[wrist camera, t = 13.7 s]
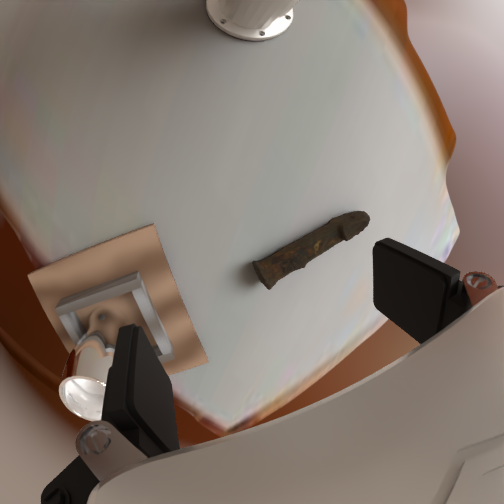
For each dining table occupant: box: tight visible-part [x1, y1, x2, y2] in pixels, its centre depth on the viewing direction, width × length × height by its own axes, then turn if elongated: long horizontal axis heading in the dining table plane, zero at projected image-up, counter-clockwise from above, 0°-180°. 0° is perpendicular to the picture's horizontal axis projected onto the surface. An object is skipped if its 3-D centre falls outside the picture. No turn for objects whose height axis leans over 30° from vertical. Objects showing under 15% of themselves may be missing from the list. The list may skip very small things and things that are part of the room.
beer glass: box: [59, 306, 129, 421], centre depth 28 cm, size 7×7×15 cm
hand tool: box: [253, 211, 370, 290], centre depth 39 cm, size 19×4×5 cm, turn 113°
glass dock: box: [27, 223, 208, 375], centre depth 34 cm, size 22×20×4 cm
